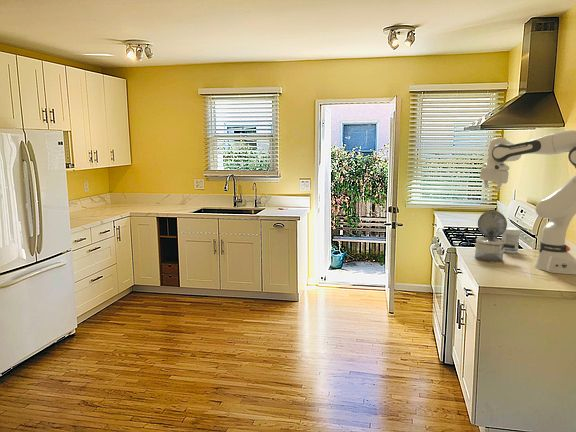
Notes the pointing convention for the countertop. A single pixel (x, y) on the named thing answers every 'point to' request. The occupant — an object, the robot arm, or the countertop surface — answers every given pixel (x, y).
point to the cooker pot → (490, 249)
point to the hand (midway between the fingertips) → (491, 189)
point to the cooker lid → (492, 224)
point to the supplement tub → (511, 239)
